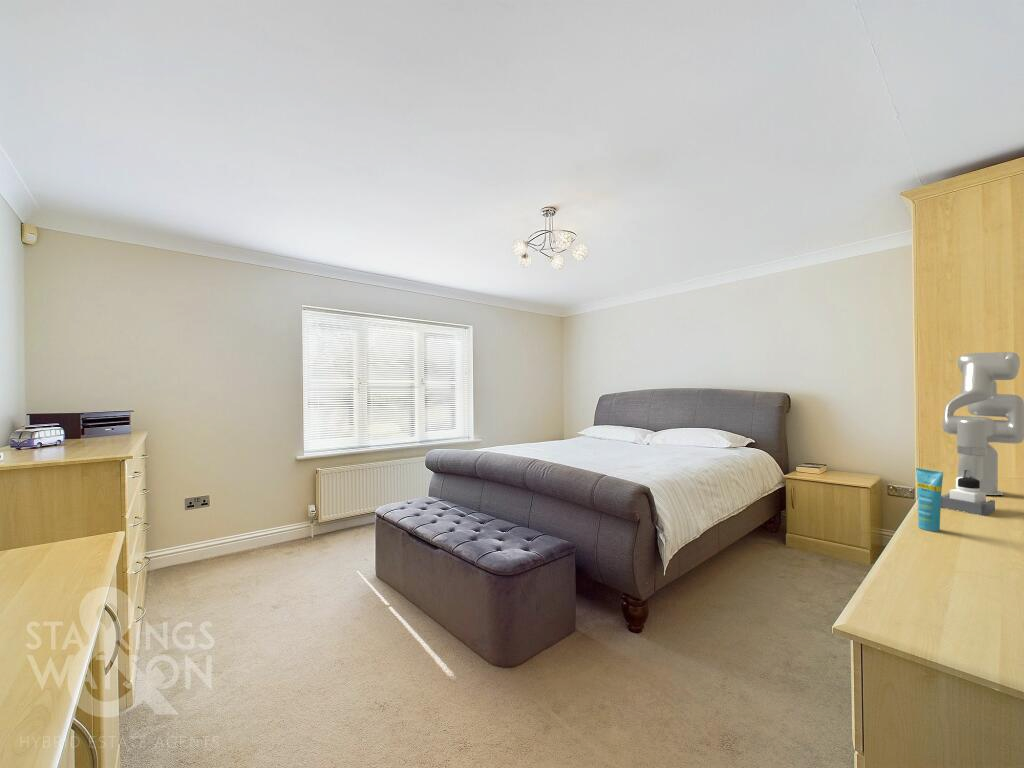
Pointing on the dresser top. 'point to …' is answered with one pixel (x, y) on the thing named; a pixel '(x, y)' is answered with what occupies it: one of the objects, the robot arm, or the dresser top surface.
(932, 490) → the tube
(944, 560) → the dresser top surface
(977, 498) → the medicine bottle
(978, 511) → the box
